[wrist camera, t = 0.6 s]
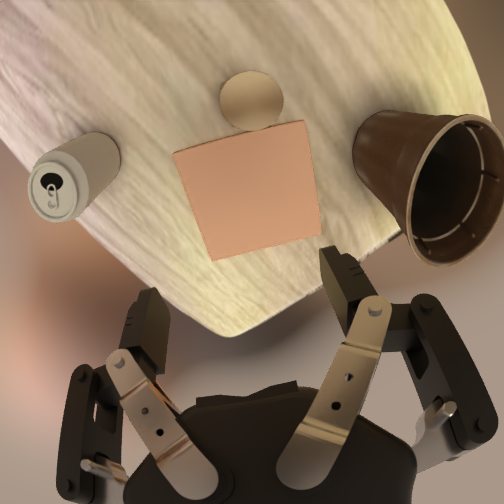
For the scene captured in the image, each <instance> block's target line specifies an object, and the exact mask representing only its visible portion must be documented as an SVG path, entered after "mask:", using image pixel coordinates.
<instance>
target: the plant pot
mask: <svg viewBox="0 0 504 504" xmlns="http://www.w3.org/2000/svg"><path fill="white" fill-rule="evenodd" d="M353 162H354V166H355V169H356V172H357V174H358V176H359V178H360V179H361V181H362V182H363V183H364V184H365V185H366V186H367V187H368V188H369V189H370V190H371V191H372V193H373V194H374V195H375V196H376V197H377V198H378V199H379V200H380V201H381V202H382V203H383V205H384V206H385V207H386V208H387V209H388V210H389V211H390V213H391V214H392V215H393V216H394V217H395V219H396V221H397V223H398V225H399V227H400V228H401V230H402V231H403V232H404V233H405V235H406V236H407V239H408V242H409V244H410V246H411V248H412V250H413V251H414V253H415V255H416V256H417V257H418V258H419V259H420V260H421V261H422V262H424V263H425V264H427V265H429V266H432V267H436V268H444V267H450V266H453V265H456V264H458V263H460V262H462V261H463V260H465V259H466V258H468V257H469V256H471V255H472V254H473V253H475V252H476V251H477V250H478V249H479V248H480V247H481V246H482V245H483V244H484V243H485V241H486V240H487V239H488V237H489V236H490V235H491V233H492V232H493V230H494V228H495V227H496V225H497V223H498V221H499V219H500V217H501V214H502V212H503V209H504V139H503V137H502V135H501V134H500V132H499V131H498V129H497V128H496V127H495V126H494V125H493V123H491V122H490V121H489V120H487V119H486V118H484V117H481V116H478V115H471V114H465V115H460V116H453V115H439V116H434V115H427V114H418V113H409V112H399V111H390V110H388V111H382V112H379V113H377V114H375V115H373V116H371V117H370V118H369V119H367V120H366V121H365V122H364V123H363V125H362V126H361V127H360V129H359V131H358V136H357V139H356V142H355V144H354V146H353Z"/></svg>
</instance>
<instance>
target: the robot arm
mask: <svg viewBox="0 0 504 504" xmlns="http://www.w3.org/2000/svg"><path fill="white" fill-rule="evenodd" d="M319 258H320V271H321V278H322V282H323V285H324V288H325V290H326V292H327V295H328V297H329V299H330V302H331V304H332V306H333V309H334V311H335V313H336V316H337V318H338V320H339V323H340V325H341V327H342V330H343V333H344V335H345V337H346V340H345V341H344V342H342V343H341V344H340V346H339V349H338V351H337V353H336V355H335V358H334V360H333V362H332V364H331V366H330V368H329V371H328V373H327V375H326V377H325V379H324V381H323V383H322V385H321V387H320V389H319V390H318V389H315V388H311V387H298V386H297V382H296V380H295V381H291V382H287V383H282V384H278V385H273V386H270V387H268V388H265V389H263V390H260V391H258V392H256V393H253V394H251V395H249V396H245V397H241V396H228V395H214V396H206V397H198V398H196V405H194V406H192V407H190V408H188V409H186V410H185V411H184V412H181V411H180V410H179V409H178V408H177V407H176V406H175V404H174V403H173V402H172V401H171V399H170V398H169V397H168V396H167V394H166V393H165V392H164V390H163V389H162V388H161V386H160V385H159V384H158V383H157V382H156V375H159V374H164V372H165V363H166V353H167V344H168V335H169V328H170V312H169V309H168V307H167V305H166V304H165V302H164V300H163V299H162V297H161V295H160V293H159V292H158V290H157V289H156V288H155V287H153V288H149V289H144V290H141V291H140V293H139V296H138V300H137V301H136V302H134V303H133V304H132V306H131V307H130V309H129V310H128V314H127V317H126V319H127V320H126V321H125V326H124V329H123V333H122V337H121V341H120V345H119V349H118V350H116V351H115V352H113V353H112V354H111V355H110V356H109V357H108V359H107V361H106V364H105V365H103V366H101V367H98V368H96V369H92V367H90V366H89V365H88V364H83V365H80V366H78V367H77V368H76V369H75V370H74V372H73V373H72V376H71V380H70V385H69V389H68V394H67V399H66V404H65V409H64V415H63V421H62V428H61V435H60V442H59V451H58V461H57V475H56V487H57V490H58V493H59V494H60V496H61V497H62V498H63V499H65V500H68V501H71V502H75V503H78V504H411V497H412V490H413V485H414V481H415V478H416V474H417V473H419V472H422V471H424V470H426V469H429V468H431V467H433V466H435V465H437V464H439V463H441V462H443V461H452V460H455V459H457V458H459V457H460V456H462V455H464V454H466V453H468V452H470V451H472V450H474V449H475V448H477V447H479V446H481V445H482V444H484V443H486V442H487V441H489V440H490V439H491V438H492V437H493V436H494V434H495V433H496V430H497V428H498V416H497V413H496V411H495V408H494V406H493V403H492V401H491V398H490V396H489V394H488V391H487V389H486V387H485V385H484V382H483V380H482V378H481V376H480V374H479V372H478V370H477V368H476V366H475V364H474V362H473V360H472V358H471V356H470V354H469V352H468V350H467V348H466V346H465V345H464V343H463V341H462V339H461V337H460V335H459V333H458V332H457V330H456V328H455V326H454V325H453V323H452V321H451V320H450V318H449V316H448V315H447V313H446V311H445V310H444V308H443V307H442V305H441V303H440V302H439V300H438V299H437V298H436V297H434V296H432V295H430V294H419V295H417V296H415V297H414V298H413V299H412V301H411V303H410V304H392V303H390V302H389V301H388V300H387V299H385V298H384V297H381V296H379V295H378V294H377V292H376V291H375V289H374V287H373V286H372V284H371V283H370V281H369V279H368V277H367V276H366V274H365V273H364V271H363V269H362V268H361V267H360V265H359V263H358V261H357V260H356V258H354V257H353V256H351V255H350V254H348V253H345V254H342V255H341V254H340V253H339V251H338V249H337V248H336V246H335V245H333V246H329V247H325V248H321V249H319ZM397 351H398V352H399V351H401V353H402V355H403V358H404V360H405V362H406V365H407V367H408V370H409V372H410V375H411V377H412V380H413V383H414V385H415V388H416V391H417V393H418V396H419V398H420V401H421V404H422V407H423V410H424V412H423V413H422V414H421V416H420V417H419V418H418V420H417V423H416V440H415V443H414V444H413V446H412V447H410V446H409V445H408V444H407V443H406V442H405V441H403V440H401V439H399V438H398V437H396V436H394V435H393V434H391V433H389V432H388V431H386V430H384V429H383V428H381V427H379V426H377V425H376V424H374V423H373V422H371V421H369V420H368V419H366V418H364V417H363V416H361V415H360V411H361V409H362V407H363V404H364V402H365V399H366V396H367V394H368V391H369V388H370V385H371V382H372V379H373V377H374V374H375V371H376V368H377V365H378V362H379V359H380V355H381V352H397ZM95 403H96V404H97V411H96V419H95V422H94V418H93V414H94V407H95ZM123 410H124V411H125V413H126V415H127V416H128V418H129V420H130V421H131V423H132V425H133V426H134V428H135V429H136V431H137V433H138V434H139V436H140V437H141V439H142V440H143V442H144V443H145V445H146V446H147V448H148V449H149V451H150V453H149V454H148V455H147V457H146V458H145V459H144V460H143V462H142V463H141V464H140V465H139V467H138V468H137V469H136V471H135V472H134V473H133V474H132V475H131V477H130V478H129V477H128V476H127V475H126V471H125V469H124V468H123V467H122V466H121V445H122V424H123Z"/></svg>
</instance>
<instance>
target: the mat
mask: <svg viewBox="0 0 504 504" xmlns="http://www.w3.org/2000/svg"><path fill="white" fill-rule="evenodd" d="M173 157H174V160H175V163H176V166H177V169H178V172H179V174H180V177H181V180H182V183H183V186H184V189H185V191H186V194H187V197H188V200H189V202H190V205H191V208H192V211H193V213H194V216H195V219H196V221H197V224H198V227H199V229H200V232H201V235H202V237H203V240H204V243H205V245H206V248H207V250H208V253H209V255H210V258H211V261H216V260H219V259H223V258H227V257H231V256H235V255H239V254H243V253H247V252H251V251H255V250H259V249H263V248H267V247H271V246H275V245H279V244H283V243H287V242H291V241H295V240H299V239H303V238H307V237H311V236H315V235H319V234H322V231H321V223H320V215H319V207H318V199H317V192H316V185H315V178H314V172H313V166H312V159H311V153H310V148H309V142H308V136H307V131H306V126H305V121H304V120H301V121H295V122H290V123H285V124H280V125H275V126H270V127H266V128H264V129H261V130H256V131H249V132H245V133H241V134H237V135H233V136H229V137H225V138H221V139H218V140H214V141H211V142H207V143H204V144H201V145H197V146H194V147H191V148H188V149H184V150H181V151H178V152H175V153H173Z"/></svg>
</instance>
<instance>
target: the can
mask: <svg viewBox="0 0 504 504" xmlns="http://www.w3.org/2000/svg"><path fill="white" fill-rule="evenodd" d="M119 167H120V155H119V150H118V148H117V146H116V144H115V143H114V142H113V141H112V140H111V138H110V137H108V136H106V135H104V134H102V133H97V132H92V133H88V134H84V135H82V136H80V137H78V138H76V139H73V140H71V141H69V142H67V143H65V144H63V145H61V146H59V147H57V148H55V149H53V150H51V151H49V152H47V153H45V154H44V155H43V156H42V157H41V158H39V159H38V161H37V162H36V164H35V166H34V167H33V171H32V173H31V174H30V176H29V181H28V195H29V199H30V202H31V204H32V206H33V208H34V210H35V211H36V212H37V213H38V214H39V215H40V216H41V217H42V218H44V219H46V220H47V221H50V222H55V223H57V222H63V221H70V220H73V219H75V218H76V217H78V216H79V215H80V214H81V213H82V212H83V211H84V210H85V209H86V208H87V207H88V206H89V204H90V203H91V202H92V201H93V200H94V199H95V198H96V197H97V196H98V195H99V194H100V193H101V192H102V191H103V190H104V189H105V188H106V187H107V186H108V185H109V184H110V183H111V182H112V180H113V179H114V178H115V177H116V175H117V173H118V171H119Z"/></svg>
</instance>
